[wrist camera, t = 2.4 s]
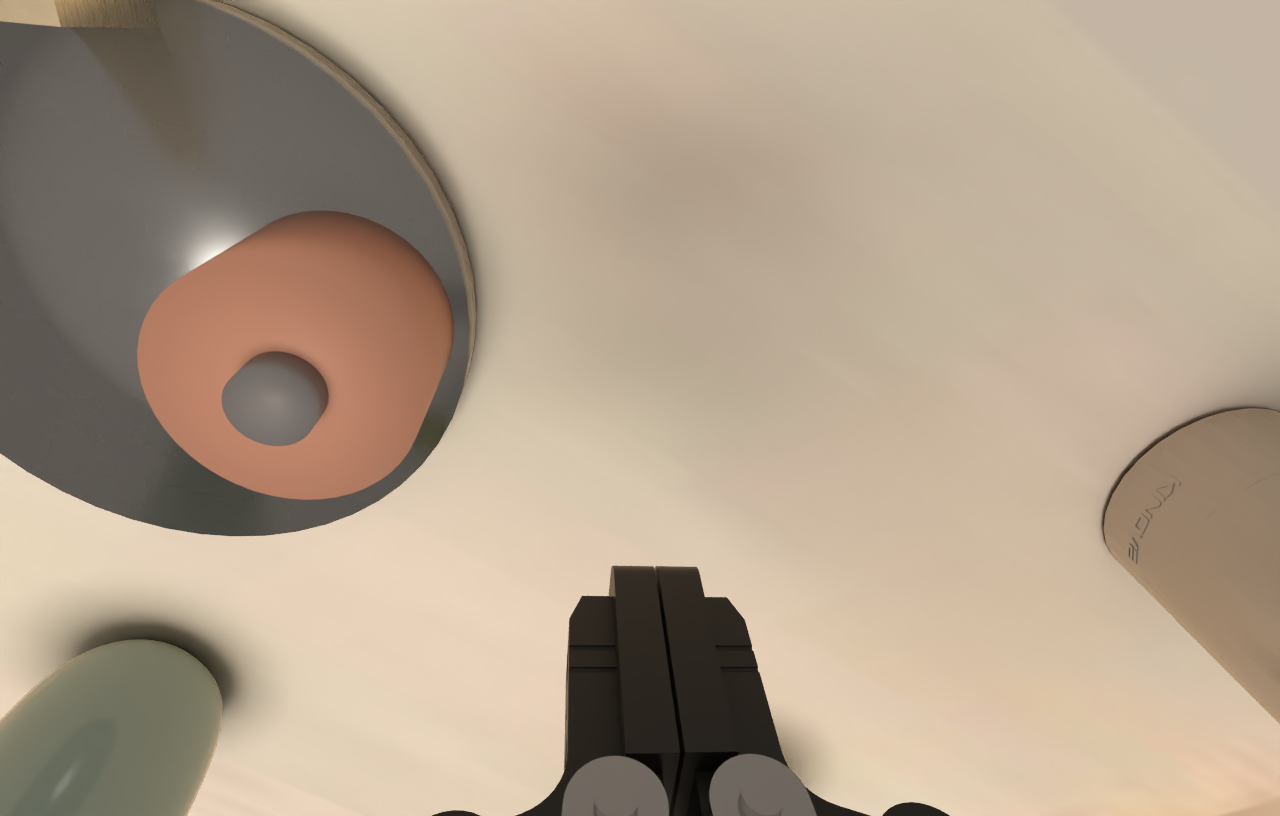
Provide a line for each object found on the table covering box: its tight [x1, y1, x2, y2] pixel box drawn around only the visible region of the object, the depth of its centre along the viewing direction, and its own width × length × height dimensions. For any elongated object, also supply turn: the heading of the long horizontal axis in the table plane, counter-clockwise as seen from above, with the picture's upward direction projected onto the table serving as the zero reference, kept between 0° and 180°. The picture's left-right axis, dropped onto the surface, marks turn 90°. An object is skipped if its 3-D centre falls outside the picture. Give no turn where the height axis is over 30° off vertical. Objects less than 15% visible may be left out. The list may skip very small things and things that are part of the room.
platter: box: [0, 0, 476, 536], centre depth 19 cm, size 18×25×6 cm
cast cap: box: [137, 211, 454, 500], centre depth 20 cm, size 7×7×6 cm
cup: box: [0, 639, 223, 816], centre depth 28 cm, size 8×8×10 cm
